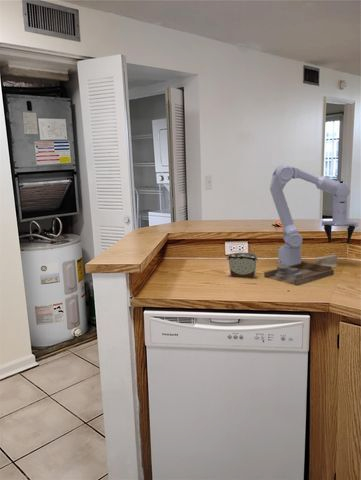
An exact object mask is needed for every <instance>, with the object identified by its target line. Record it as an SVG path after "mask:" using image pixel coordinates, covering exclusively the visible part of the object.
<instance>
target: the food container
mask: <svg viewBox="0 0 361 480" xmlns="http://www.w3.org/2000/svg"><path fill="white" fill-rule="evenodd" d="M226 260H228V264H229V272H230V278H243V279H252V280H253V279H255V277H256V268H257V262H258V261H259V260H258V256H257V254H256V253H251V252H234V253H233V252H232V253H229V254H228V255H227V258H226Z"/></svg>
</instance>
